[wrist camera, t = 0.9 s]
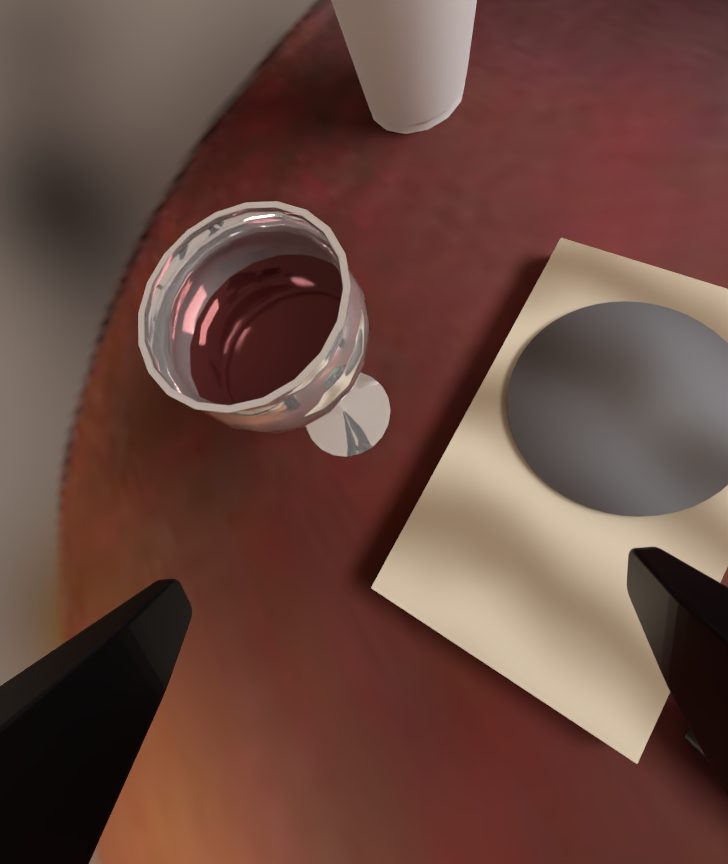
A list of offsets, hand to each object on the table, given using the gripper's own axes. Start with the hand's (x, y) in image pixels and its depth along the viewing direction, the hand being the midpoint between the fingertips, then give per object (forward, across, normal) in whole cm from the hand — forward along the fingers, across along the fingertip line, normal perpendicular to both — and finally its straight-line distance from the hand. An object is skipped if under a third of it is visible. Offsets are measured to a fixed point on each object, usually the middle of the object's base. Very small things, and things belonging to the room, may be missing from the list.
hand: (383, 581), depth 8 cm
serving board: (+12, -8, +5) cm, 15 cm away
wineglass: (+15, +4, +2) cm, 16 cm away
